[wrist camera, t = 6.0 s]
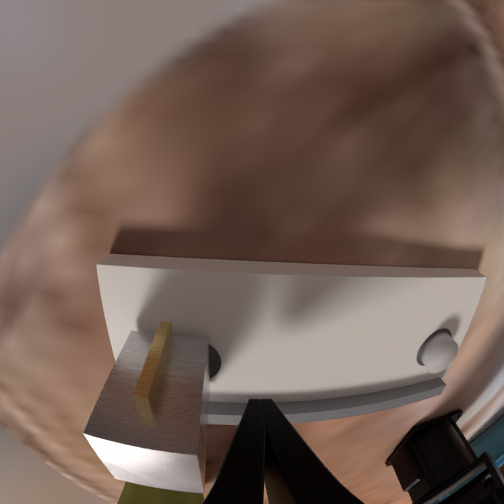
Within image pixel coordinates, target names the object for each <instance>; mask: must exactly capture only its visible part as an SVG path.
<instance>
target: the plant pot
mask: <svg viewBox="0 0 504 504" xmlns="http://www.w3.org/2000/svg"><path fill="white" fill-rule="evenodd" d="M203 501H204V496H203V493H194V492H184V491H176V490H169V489H162V488H156V487H151V486H145V485H140V484H136V483H131V482H127V481H126V483H125V486H124V488H123V491H122V494H121V496H120V499H119V501H118V503H117V504H202V503H203Z"/></svg>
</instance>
